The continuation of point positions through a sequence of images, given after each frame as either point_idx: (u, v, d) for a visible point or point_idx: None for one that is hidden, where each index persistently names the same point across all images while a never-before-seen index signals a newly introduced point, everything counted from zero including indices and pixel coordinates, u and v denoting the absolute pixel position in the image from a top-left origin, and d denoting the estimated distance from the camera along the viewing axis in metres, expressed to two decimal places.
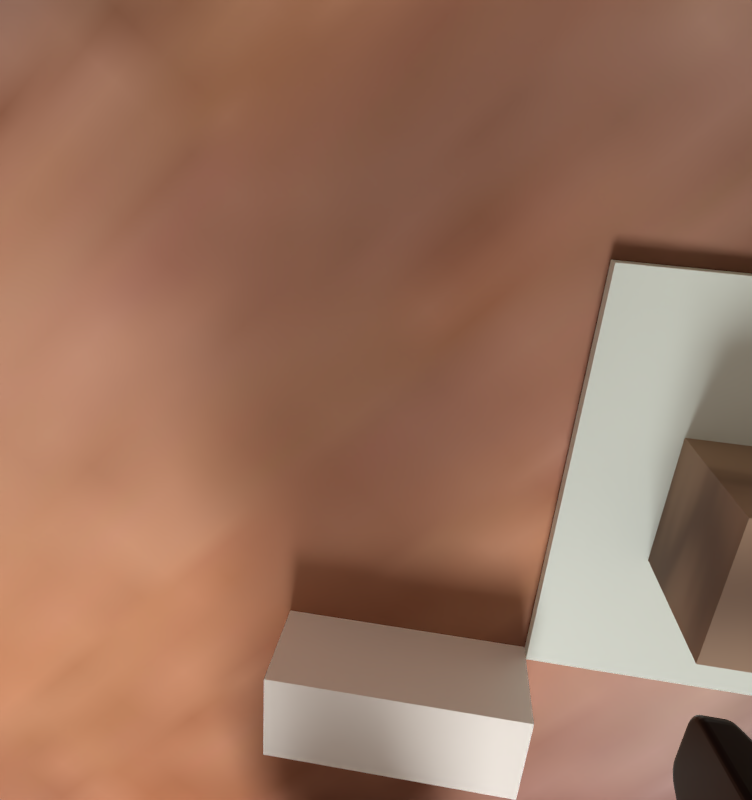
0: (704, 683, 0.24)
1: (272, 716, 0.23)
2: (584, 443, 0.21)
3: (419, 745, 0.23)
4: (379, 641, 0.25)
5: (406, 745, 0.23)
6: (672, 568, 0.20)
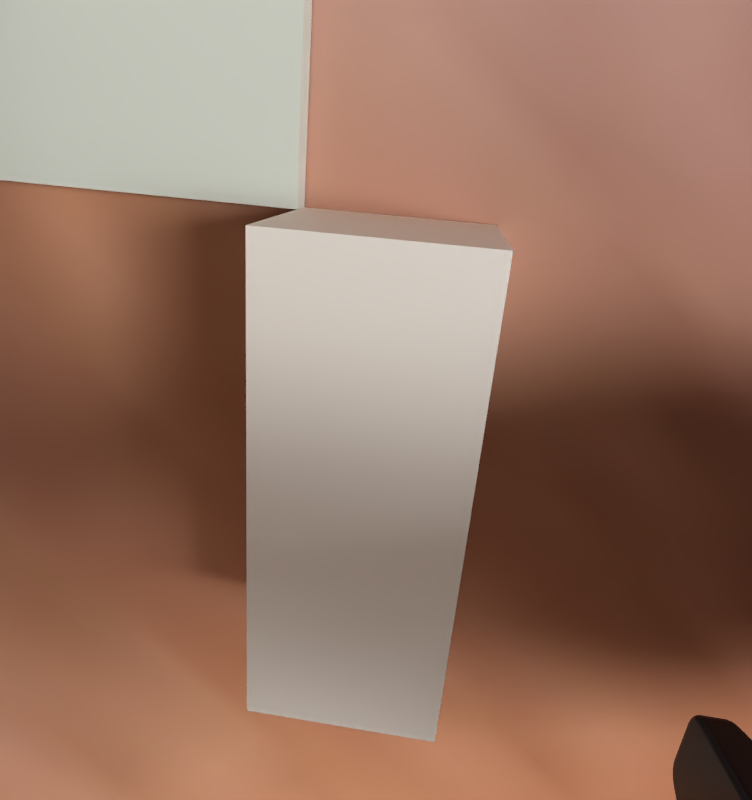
0: None
1: (332, 712, 0.13)
2: None
3: (359, 472, 0.10)
4: None
5: (365, 497, 0.11)
6: None
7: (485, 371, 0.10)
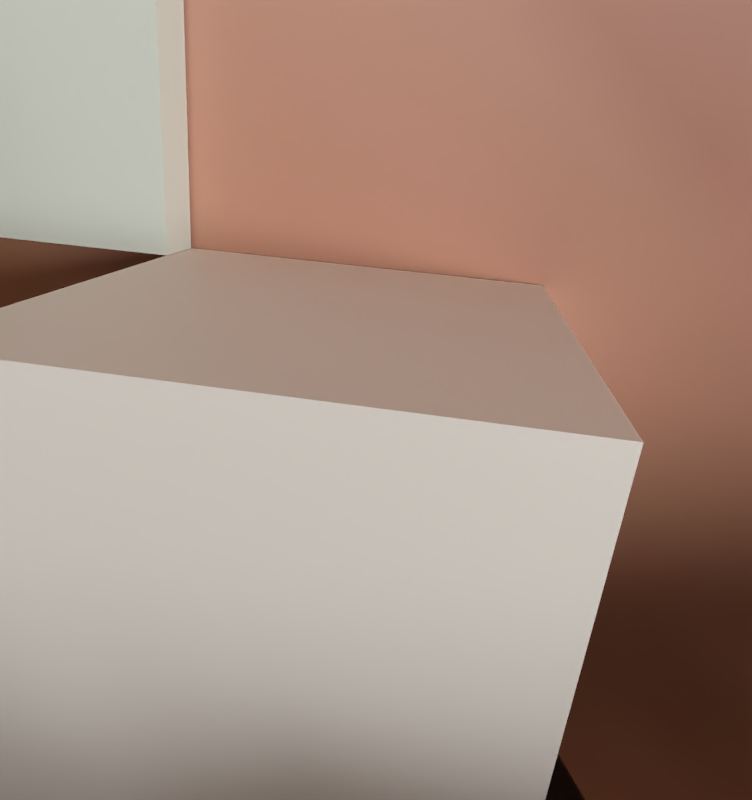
0: None
1: None
2: None
3: None
4: None
5: None
6: None
7: (544, 723, 0.04)
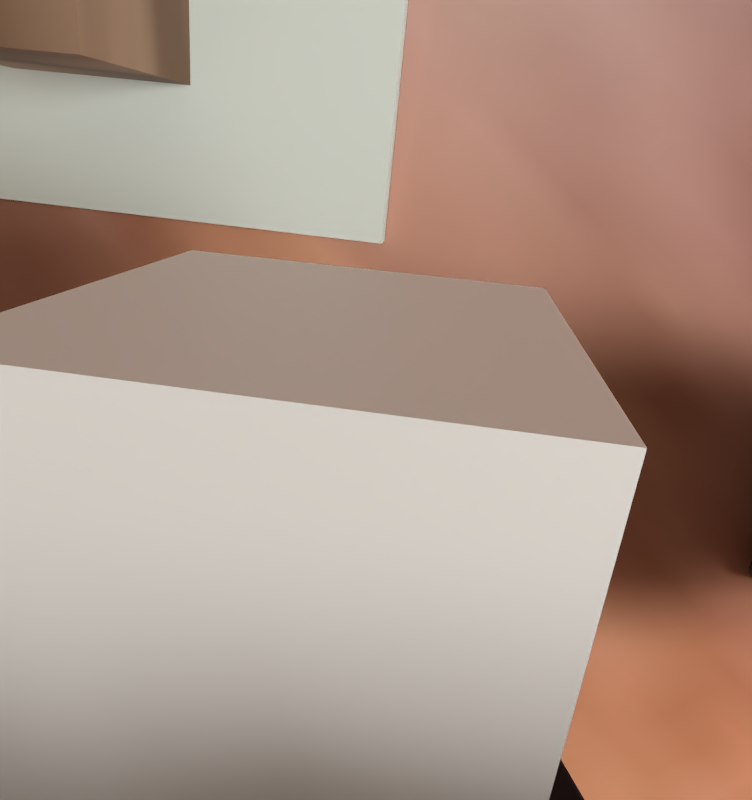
0: None
1: None
2: (50, 193, 0.18)
3: None
4: None
5: None
6: (112, 71, 0.14)
7: (547, 728, 0.04)
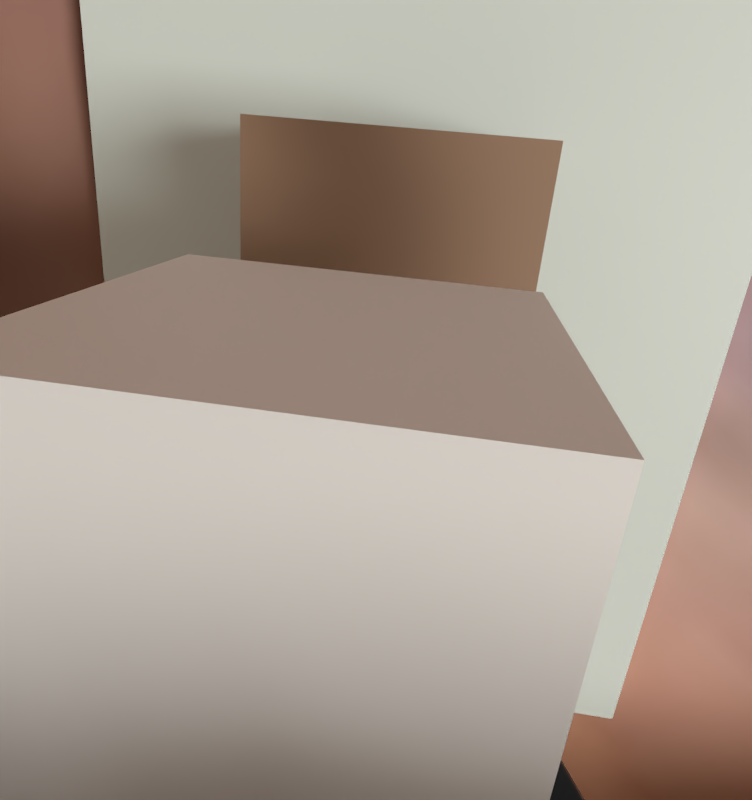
0: (661, 535, 0.17)
1: None
2: None
3: None
4: None
5: None
6: None
7: (543, 741, 0.04)
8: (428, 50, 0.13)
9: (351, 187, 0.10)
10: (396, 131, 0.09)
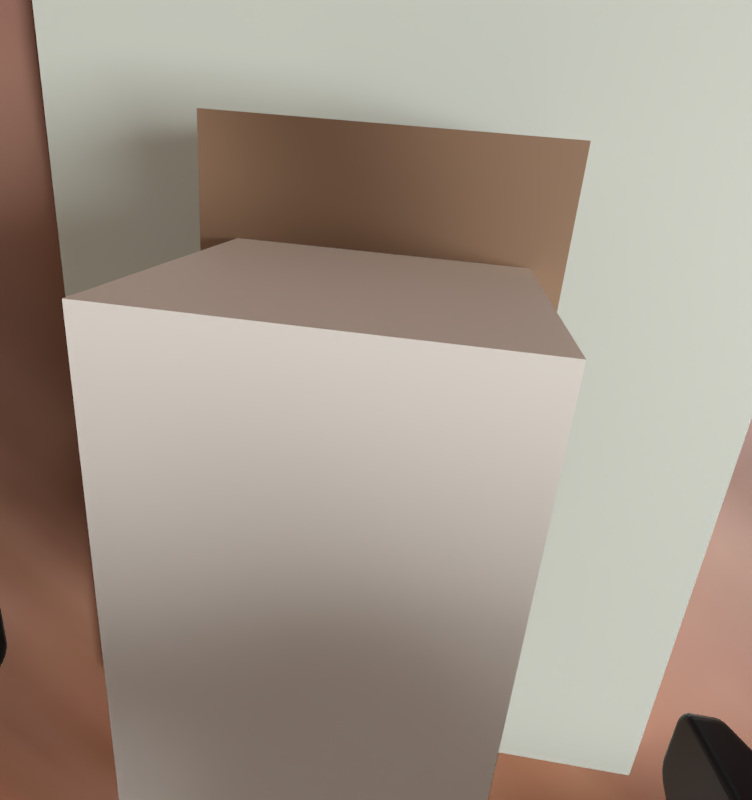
0: (686, 580, 0.15)
1: None
2: None
3: (296, 711, 0.06)
4: None
5: (307, 750, 0.06)
6: None
7: (522, 571, 0.05)
8: (426, 37, 0.12)
9: (332, 197, 0.08)
10: (386, 129, 0.08)
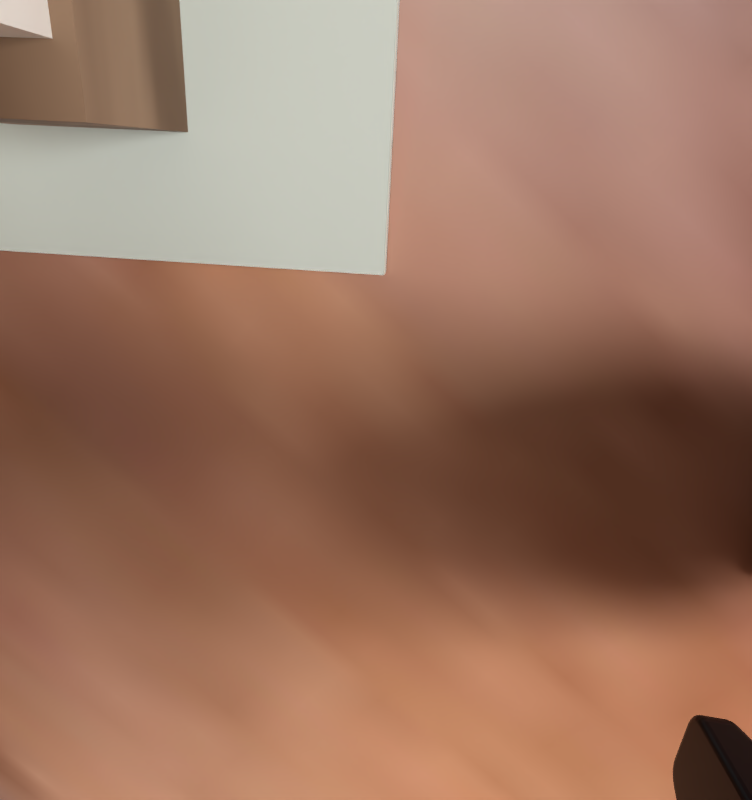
0: None
1: None
2: (54, 243, 0.18)
3: None
4: None
5: None
6: None
7: None
8: None
9: None
10: None
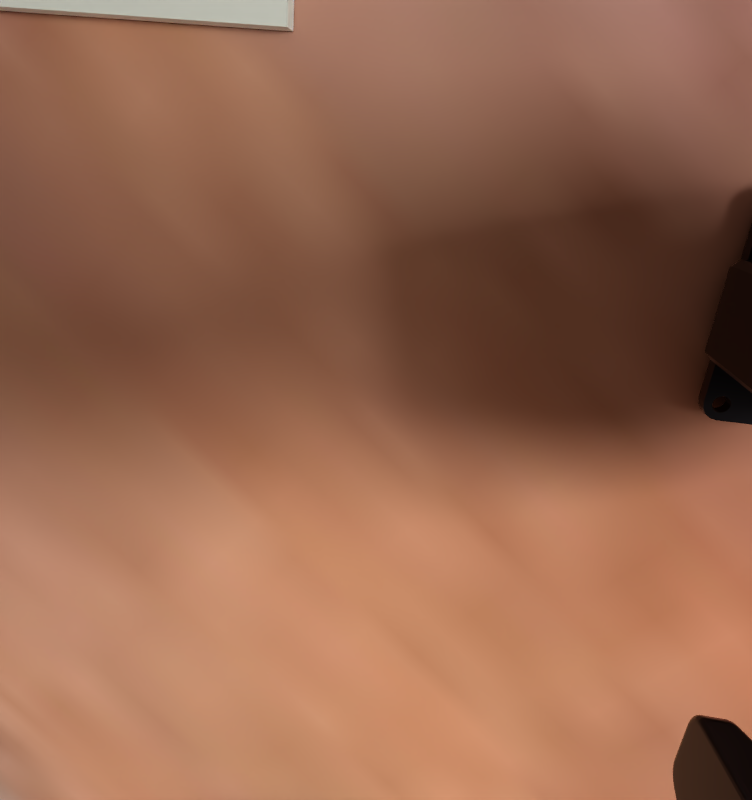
0: None
1: None
2: None
3: None
4: None
5: None
6: None
7: None
8: None
9: None
10: None
